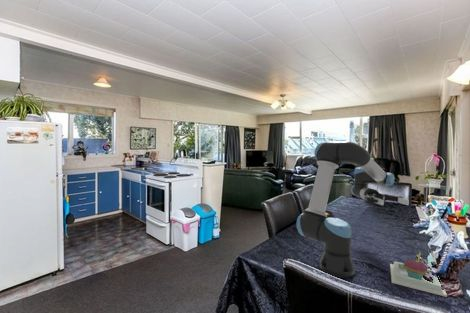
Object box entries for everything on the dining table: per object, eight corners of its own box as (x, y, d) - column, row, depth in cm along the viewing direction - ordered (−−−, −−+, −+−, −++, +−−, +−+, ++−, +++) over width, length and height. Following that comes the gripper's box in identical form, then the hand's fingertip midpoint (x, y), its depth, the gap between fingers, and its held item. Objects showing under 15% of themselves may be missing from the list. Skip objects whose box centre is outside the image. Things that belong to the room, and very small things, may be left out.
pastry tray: (391, 282, 101) (392, 275, 101) (390, 265, 116) (390, 259, 116) (447, 297, 91) (447, 289, 91) (437, 275, 107) (437, 269, 106)
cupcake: (416, 272, 108) (417, 246, 108) (432, 282, 100) (433, 255, 99) (398, 272, 108) (399, 246, 107) (413, 282, 99) (414, 255, 99)
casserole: (302, 222, 182) (302, 212, 181) (310, 217, 196) (311, 207, 196) (336, 229, 166) (336, 218, 166) (342, 223, 181) (342, 212, 181)
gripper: (389, 200, 143) (418, 209, 122) (349, 200, 142) (372, 210, 120) (389, 188, 143) (418, 195, 122) (350, 188, 141) (372, 195, 120)
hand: (395, 202), depth 121 cm, fingers open, 13 cm apart
